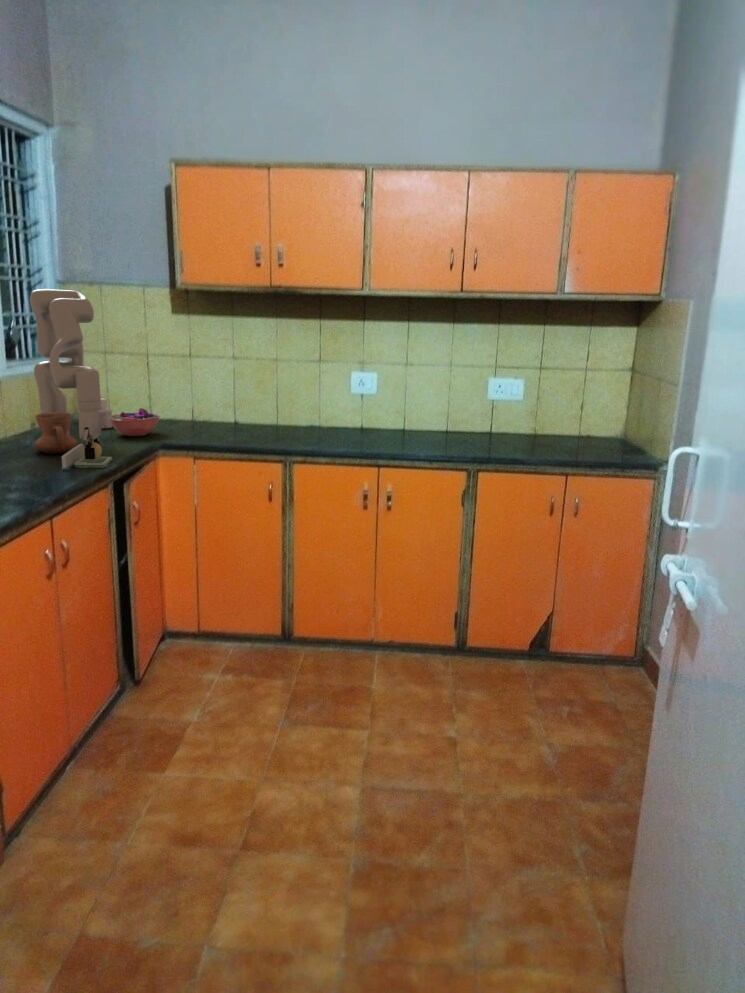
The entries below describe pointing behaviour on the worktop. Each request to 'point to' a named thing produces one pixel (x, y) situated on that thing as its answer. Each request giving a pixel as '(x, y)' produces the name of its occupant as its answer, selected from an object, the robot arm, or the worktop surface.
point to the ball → (96, 450)
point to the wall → (72, 455)
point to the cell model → (135, 423)
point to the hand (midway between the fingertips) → (93, 456)
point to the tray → (107, 459)
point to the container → (105, 414)
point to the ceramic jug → (55, 433)
